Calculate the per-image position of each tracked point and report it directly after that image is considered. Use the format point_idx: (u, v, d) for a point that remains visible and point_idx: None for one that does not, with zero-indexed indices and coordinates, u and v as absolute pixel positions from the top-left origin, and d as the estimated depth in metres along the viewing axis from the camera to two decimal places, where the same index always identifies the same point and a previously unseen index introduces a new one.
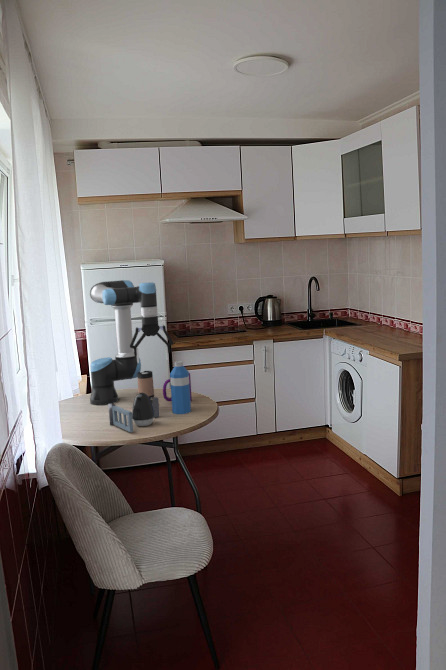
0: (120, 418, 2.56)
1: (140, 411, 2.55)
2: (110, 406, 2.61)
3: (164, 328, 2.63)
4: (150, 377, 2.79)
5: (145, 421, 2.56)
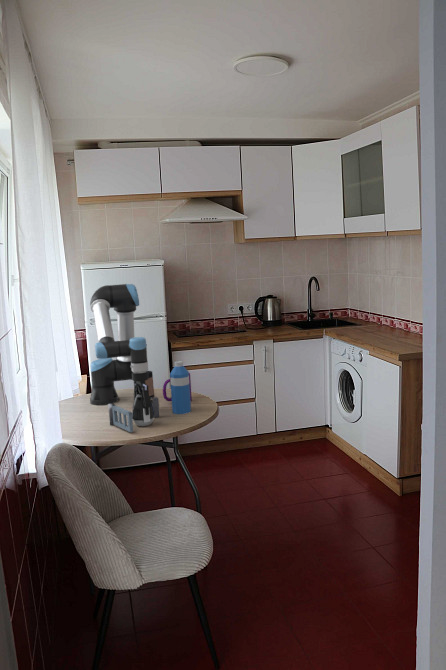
0: (120, 418, 2.56)
1: (140, 411, 2.55)
2: (110, 406, 2.61)
3: (142, 388, 2.52)
4: (150, 377, 2.79)
5: None
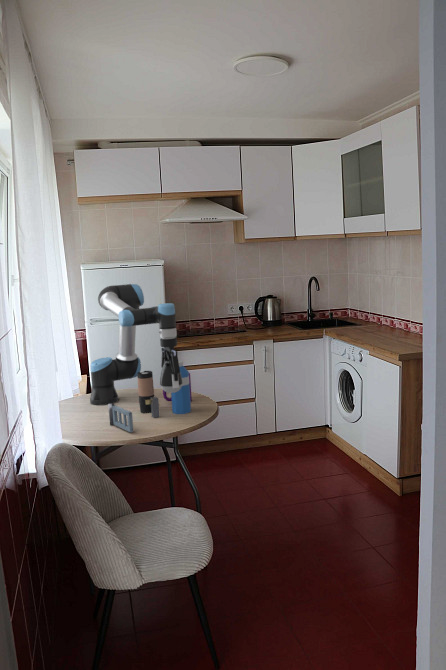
0: (120, 418, 2.56)
1: (168, 377, 2.54)
2: (110, 406, 2.61)
3: (171, 354, 2.51)
4: (150, 377, 2.79)
5: None
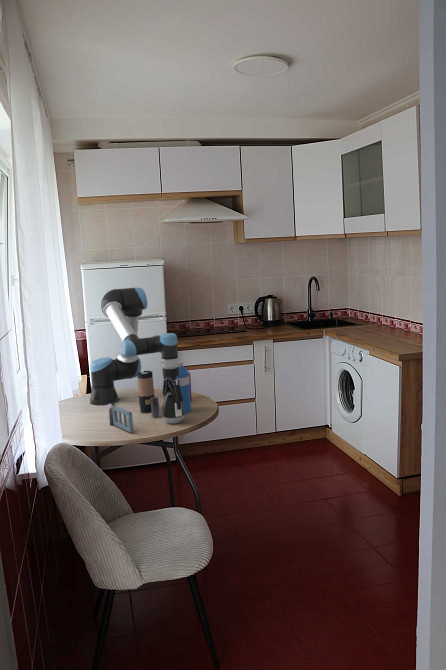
0: (120, 418, 2.56)
1: (170, 409, 2.56)
2: (110, 406, 2.61)
3: (174, 383, 2.53)
4: (150, 377, 2.79)
5: (176, 419, 2.57)
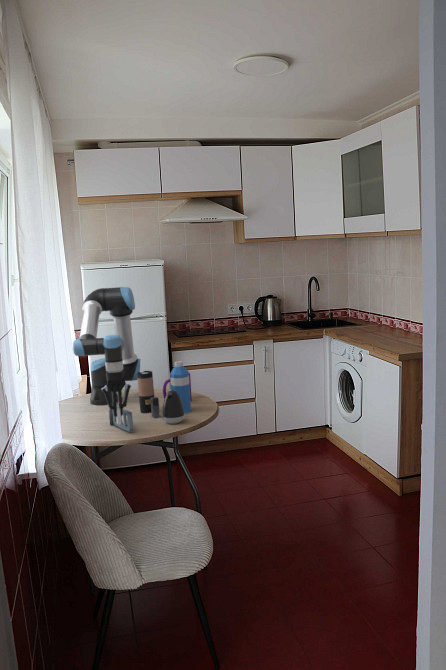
0: None
1: (170, 409, 2.56)
2: None
3: (128, 388, 2.49)
4: (150, 377, 2.79)
5: (176, 419, 2.57)
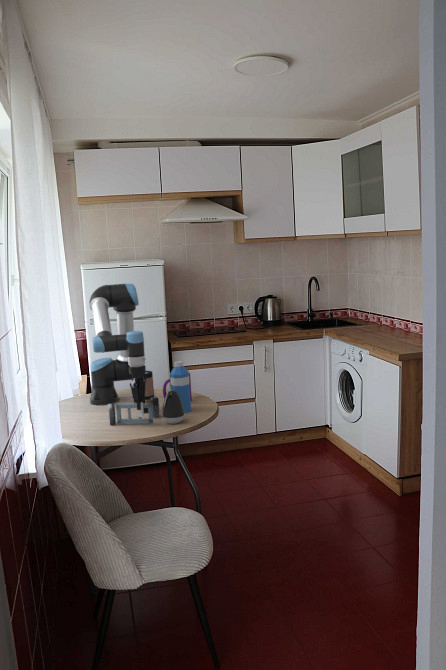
0: (130, 414, 2.62)
1: (170, 409, 2.56)
2: (110, 406, 2.61)
3: (145, 380, 2.61)
4: (150, 377, 2.79)
5: (176, 419, 2.57)
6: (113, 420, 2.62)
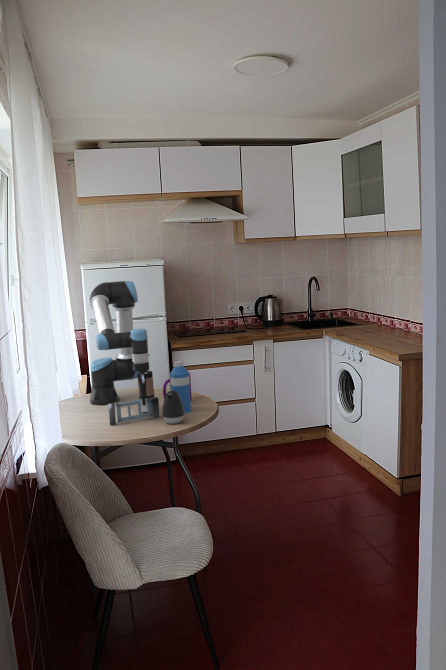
0: None
1: (170, 409, 2.56)
2: (110, 406, 2.61)
3: None
4: (150, 377, 2.79)
5: (176, 419, 2.57)
6: (113, 420, 2.62)
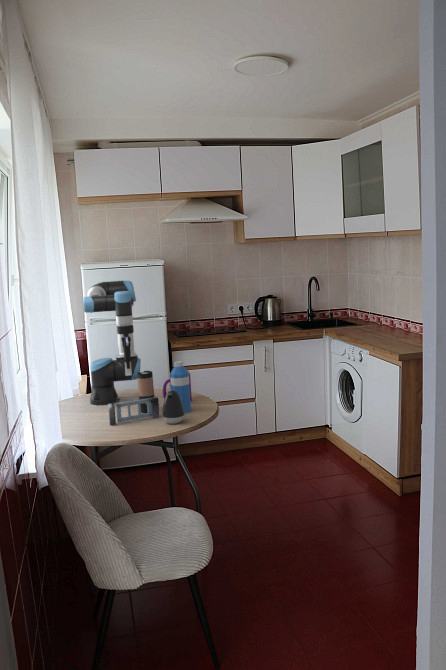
0: None
1: (170, 409, 2.56)
2: (110, 406, 2.61)
3: None
4: (150, 377, 2.79)
5: (176, 419, 2.57)
6: (113, 420, 2.62)
